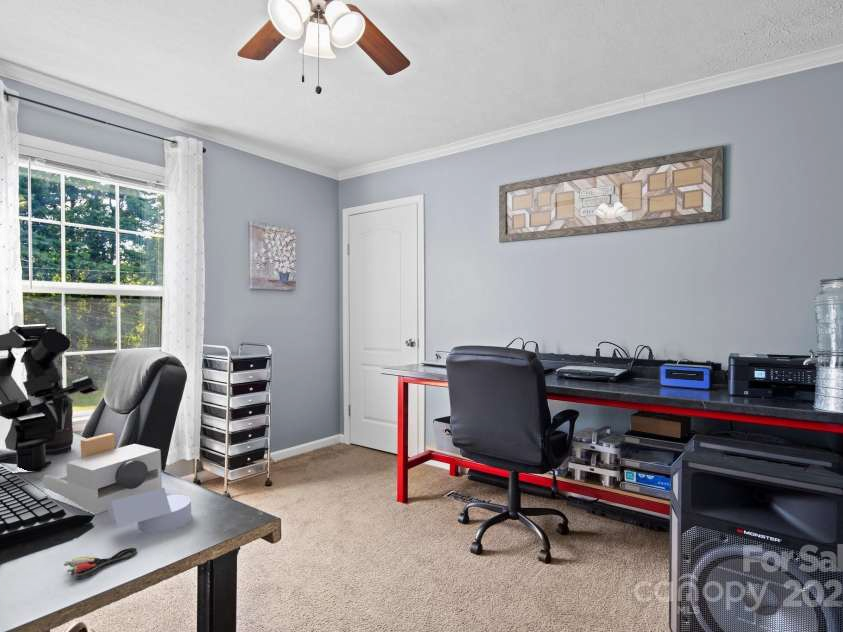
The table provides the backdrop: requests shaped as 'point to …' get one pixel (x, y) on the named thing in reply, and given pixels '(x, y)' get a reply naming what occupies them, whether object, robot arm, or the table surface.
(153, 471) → the camera case
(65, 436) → the camera lens
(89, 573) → the composite cable
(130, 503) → the wedge on round base
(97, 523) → the table surface
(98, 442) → the tan boxy piece
